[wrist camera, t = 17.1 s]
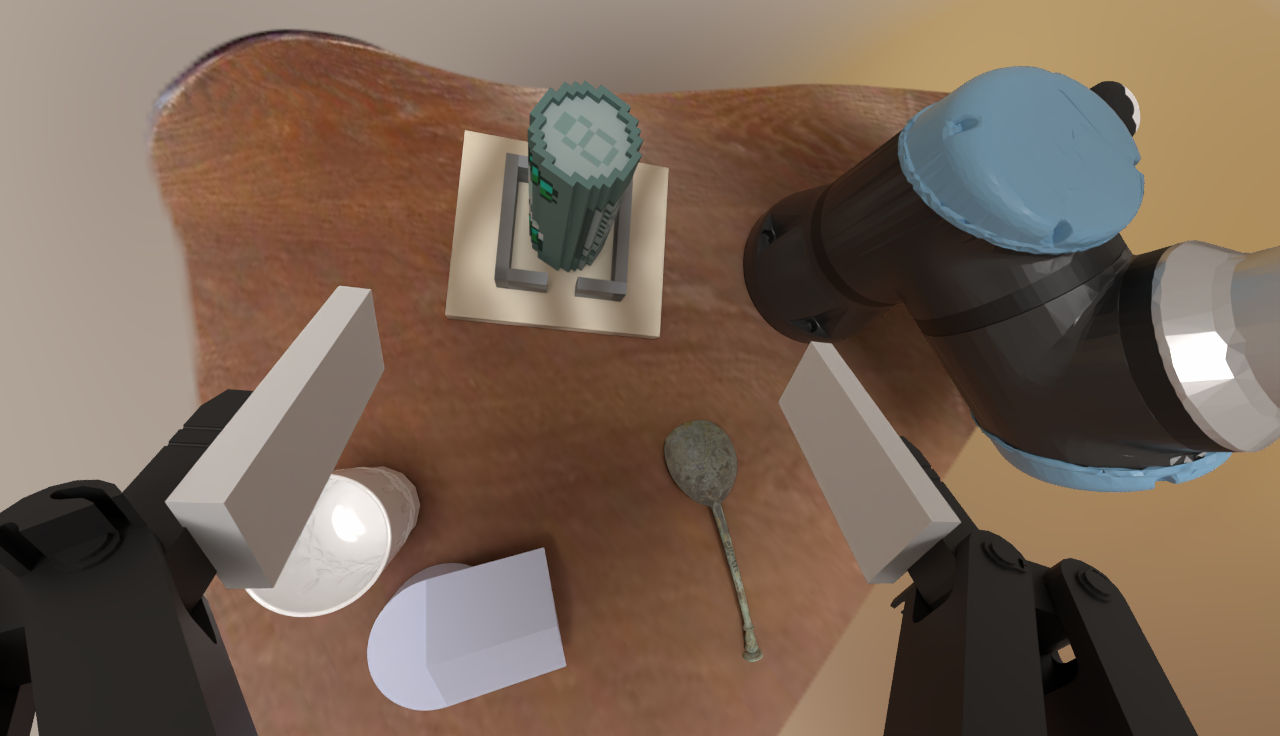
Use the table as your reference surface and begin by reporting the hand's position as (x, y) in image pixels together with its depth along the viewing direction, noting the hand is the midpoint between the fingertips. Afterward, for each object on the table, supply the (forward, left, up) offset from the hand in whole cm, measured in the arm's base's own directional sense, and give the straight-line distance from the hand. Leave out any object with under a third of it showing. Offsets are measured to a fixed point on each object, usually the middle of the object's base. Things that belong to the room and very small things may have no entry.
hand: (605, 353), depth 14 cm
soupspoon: (-7, +18, -27) cm, 34 cm away
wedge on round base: (+14, +13, -27) cm, 33 cm away
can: (-6, -12, -25) cm, 29 cm away
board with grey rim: (-6, -12, -26) cm, 30 cm away
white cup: (+17, +2, -27) cm, 32 cm away
